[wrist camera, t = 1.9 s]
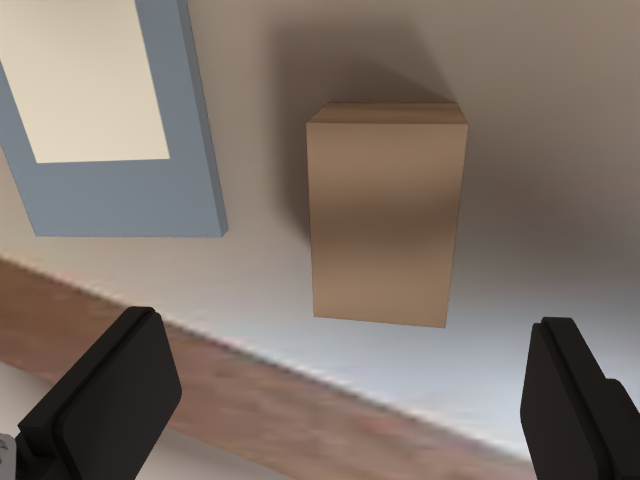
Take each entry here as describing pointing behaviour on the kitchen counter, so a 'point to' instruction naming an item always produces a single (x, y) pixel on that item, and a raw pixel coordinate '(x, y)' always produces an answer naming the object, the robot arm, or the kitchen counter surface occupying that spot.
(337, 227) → the walnut block
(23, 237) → the kitchen counter surface
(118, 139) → the board
